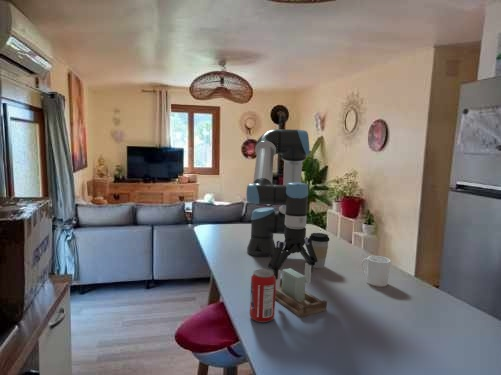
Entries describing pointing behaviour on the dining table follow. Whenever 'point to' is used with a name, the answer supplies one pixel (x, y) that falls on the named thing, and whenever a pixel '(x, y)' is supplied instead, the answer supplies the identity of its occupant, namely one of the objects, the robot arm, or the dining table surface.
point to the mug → (377, 270)
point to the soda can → (262, 295)
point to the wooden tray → (300, 303)
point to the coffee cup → (320, 248)
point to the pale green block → (293, 284)
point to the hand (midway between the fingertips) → (292, 284)
